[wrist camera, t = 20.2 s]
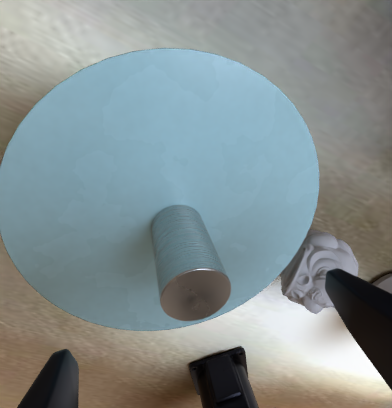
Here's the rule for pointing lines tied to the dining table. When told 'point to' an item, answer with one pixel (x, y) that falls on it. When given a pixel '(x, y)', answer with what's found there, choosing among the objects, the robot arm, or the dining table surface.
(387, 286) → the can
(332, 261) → the grey carved lump
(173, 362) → the dining table surface
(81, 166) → the lid
